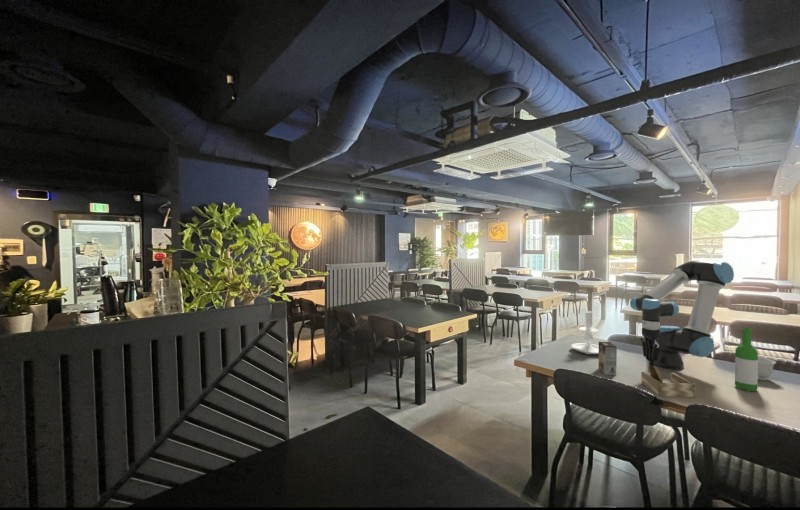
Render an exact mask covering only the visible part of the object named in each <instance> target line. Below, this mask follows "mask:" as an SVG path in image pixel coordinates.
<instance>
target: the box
mask: <svg viewBox="0 0 800 510" xmlns="http://www.w3.org/2000/svg"><path fill="white" fill-rule="evenodd" d="M640 380H641V382H640V383H641V384H642V385H644V386H645V387H646V388H647V389H649V390H651V391H652V392H653V393H655V394H656V395H658V396H659V397H679V398H680V397H681V398H686V397H688V398H696V384H695V383H694V382H691V381H690V380H688V379H686V378H684V377H682V376H680V375H678V374H676V373H675V372H670V382H663V383H661V382H659V381H658V380H656V379H654V378H653V377H651V376H650V374H649V373H647V372H644V371H641V379H640Z"/></svg>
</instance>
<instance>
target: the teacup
mask: <svg viewBox="0 0 800 510" xmlns="http://www.w3.org/2000/svg"><path fill="white" fill-rule="evenodd" d="M776 364H777V362H776V361H775V360H773V359H770V358H767V357H761V356H759V355H758V377H759V378H758V380H760V381H766V380H767V378H769V377H771V376H772V374H773V371H774V370H773V369H774V365H776Z"/></svg>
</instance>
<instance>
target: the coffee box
mask: <svg viewBox="0 0 800 510" xmlns="http://www.w3.org/2000/svg"><path fill="white" fill-rule="evenodd" d="M598 345H599V354H598V369H599V370H600V371H601V372H602V374H604V375H608V376H611V375H613V376H617V361H618V360H617V352H618V351H617V350H618V349H617V348H618V347H617V346H616V345H615V344H613V343H612V342H611V341H598Z"/></svg>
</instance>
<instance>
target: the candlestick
mask: <svg viewBox="0 0 800 510" xmlns="http://www.w3.org/2000/svg"><path fill="white" fill-rule="evenodd" d="M584 320H585V321H584V322H585V326H582V327H581V326H580V327H578V329H579V330H580V331H583V332H584V333H585V334H584V336H583V340H584V341H585V342H577V343H576V342H575V343H572V344H571V345H570V346H571V347H572V348H573V349H574V350H575V351H577V352H579V353H582V354H586V355H599V344H594V343H592V342H593V341H594V338H595V337H594V336H593V334H592V333H593V332H594V333H595V332H599V329H597V328H595V327H592V325H593V323H592V320H593V311H591V310H588V311H585V319H584Z"/></svg>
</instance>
